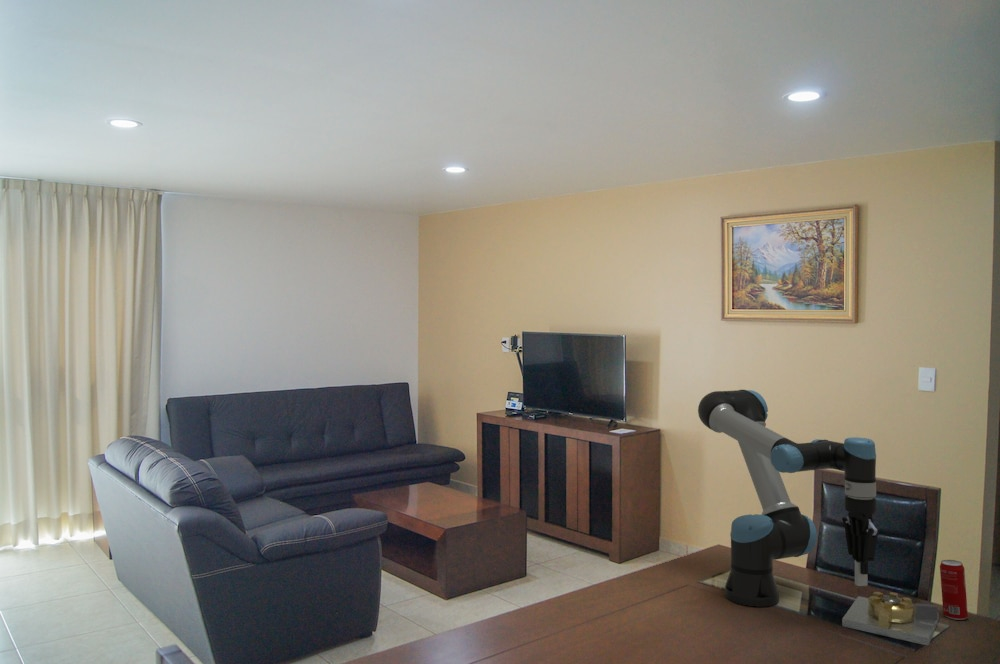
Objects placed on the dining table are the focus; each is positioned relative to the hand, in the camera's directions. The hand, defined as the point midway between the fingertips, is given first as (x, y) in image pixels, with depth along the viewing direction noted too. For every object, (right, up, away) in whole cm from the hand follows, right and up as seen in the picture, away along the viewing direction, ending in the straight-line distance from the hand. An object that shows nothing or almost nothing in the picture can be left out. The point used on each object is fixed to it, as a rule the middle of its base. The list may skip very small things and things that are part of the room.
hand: (861, 584), depth 195 cm
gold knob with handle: (+7, -9, 0) cm, 11 cm away
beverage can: (+28, -11, +6) cm, 31 cm away
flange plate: (+9, -11, +2) cm, 14 cm away
